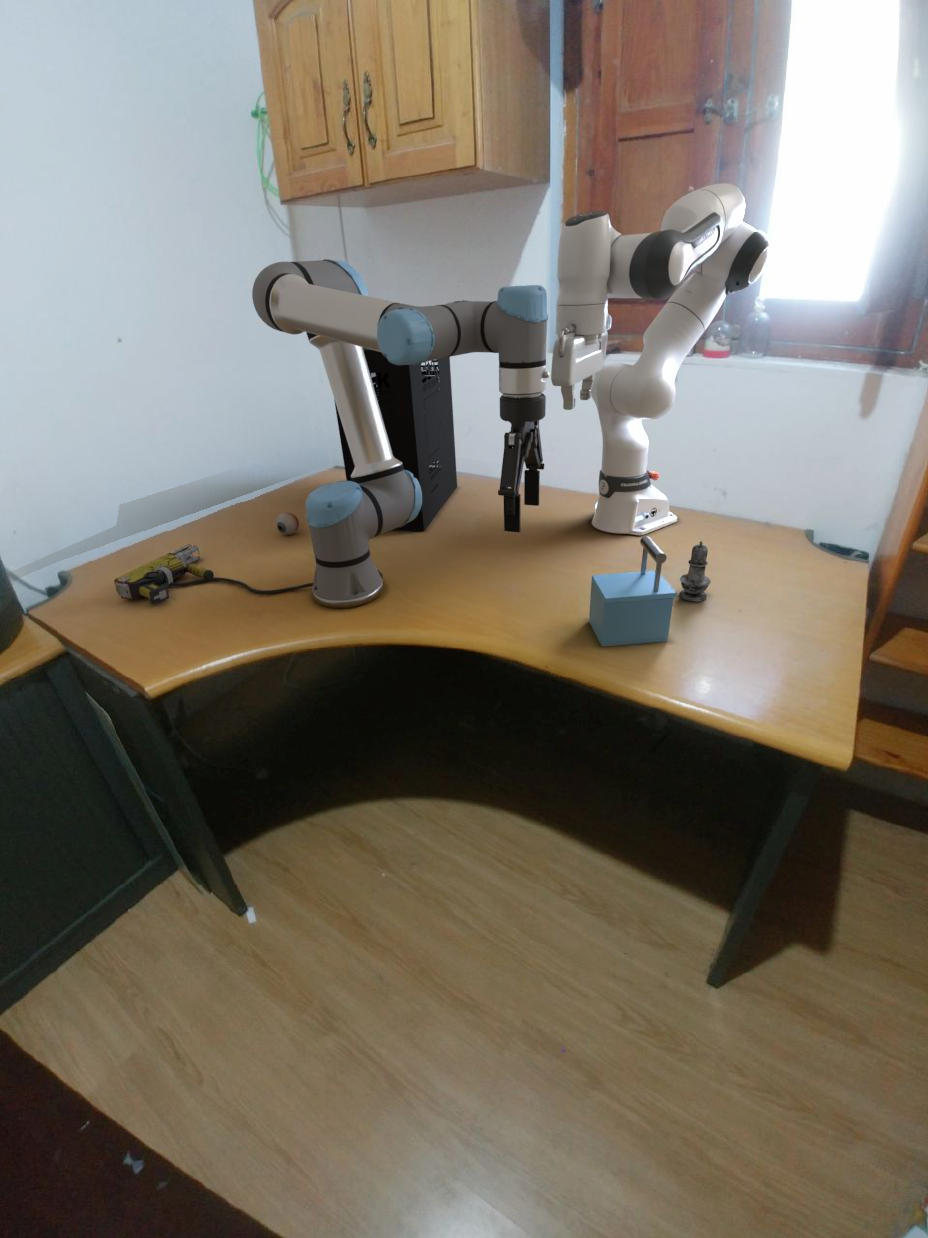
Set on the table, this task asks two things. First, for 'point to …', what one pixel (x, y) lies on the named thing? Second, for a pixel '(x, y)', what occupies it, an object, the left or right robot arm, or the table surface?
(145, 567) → the toy gun
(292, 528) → the eyeball
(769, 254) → the right robot arm
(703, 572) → the dark grey turned figure
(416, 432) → the dark boxy piece
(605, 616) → the chest
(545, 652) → the table surface
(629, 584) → the lid
